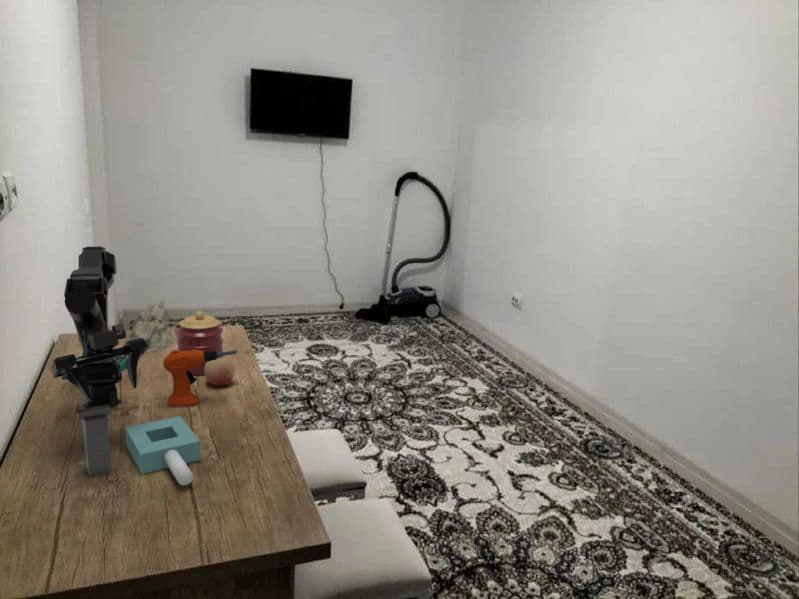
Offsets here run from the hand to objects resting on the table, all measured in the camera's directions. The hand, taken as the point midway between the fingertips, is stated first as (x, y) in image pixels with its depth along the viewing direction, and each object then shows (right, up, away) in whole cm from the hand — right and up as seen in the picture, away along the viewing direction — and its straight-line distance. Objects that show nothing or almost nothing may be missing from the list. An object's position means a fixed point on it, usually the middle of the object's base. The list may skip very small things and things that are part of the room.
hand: (113, 394), depth 134 cm
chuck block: (+12, -14, -1) cm, 19 cm away
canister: (+2, 0, +53) cm, 53 cm away
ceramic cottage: (-21, +5, +71) cm, 74 cm away
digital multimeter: (-27, 0, +50) cm, 57 cm away
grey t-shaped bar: (-1, -15, -5) cm, 16 cm away
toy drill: (+9, -7, +30) cm, 32 cm away
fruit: (+11, -4, +42) cm, 43 cm away
